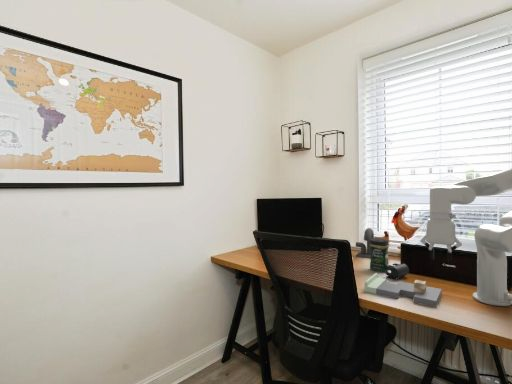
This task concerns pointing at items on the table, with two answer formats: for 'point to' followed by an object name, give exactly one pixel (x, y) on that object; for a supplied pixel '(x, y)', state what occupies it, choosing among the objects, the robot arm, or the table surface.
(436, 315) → the table surface
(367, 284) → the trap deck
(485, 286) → the robot arm
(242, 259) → the table surface
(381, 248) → the coffee jar
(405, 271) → the dark grey motor
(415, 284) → the maple block
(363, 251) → the faucet
